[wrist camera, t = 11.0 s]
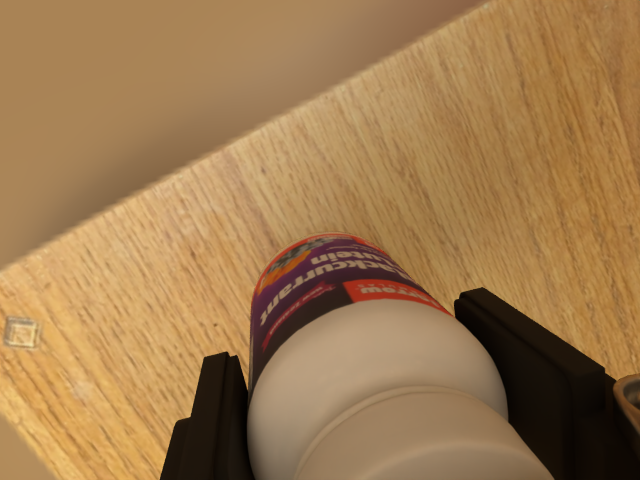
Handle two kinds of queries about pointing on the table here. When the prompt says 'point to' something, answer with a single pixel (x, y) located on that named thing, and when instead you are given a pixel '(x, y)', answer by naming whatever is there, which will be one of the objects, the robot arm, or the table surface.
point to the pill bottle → (369, 376)
